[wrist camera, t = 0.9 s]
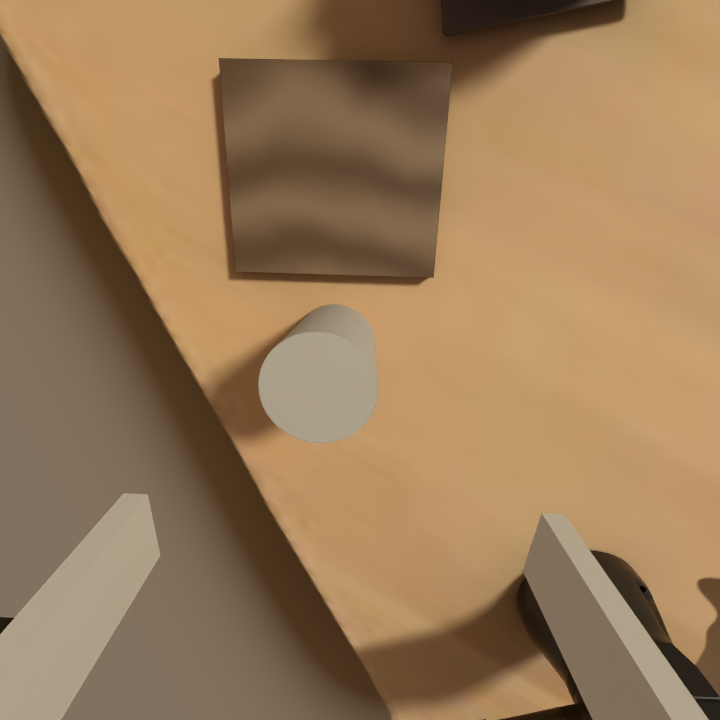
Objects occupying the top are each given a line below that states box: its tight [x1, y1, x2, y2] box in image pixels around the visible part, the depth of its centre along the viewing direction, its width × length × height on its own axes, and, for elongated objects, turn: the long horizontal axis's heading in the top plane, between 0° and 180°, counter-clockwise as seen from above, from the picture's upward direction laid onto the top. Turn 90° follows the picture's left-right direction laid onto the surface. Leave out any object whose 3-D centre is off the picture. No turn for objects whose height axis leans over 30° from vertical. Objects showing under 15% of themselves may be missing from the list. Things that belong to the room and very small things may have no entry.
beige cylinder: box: [258, 304, 378, 443], centre depth 29 cm, size 8×8×12 cm
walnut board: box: [219, 58, 453, 278], centre depth 30 cm, size 16×18×2 cm
